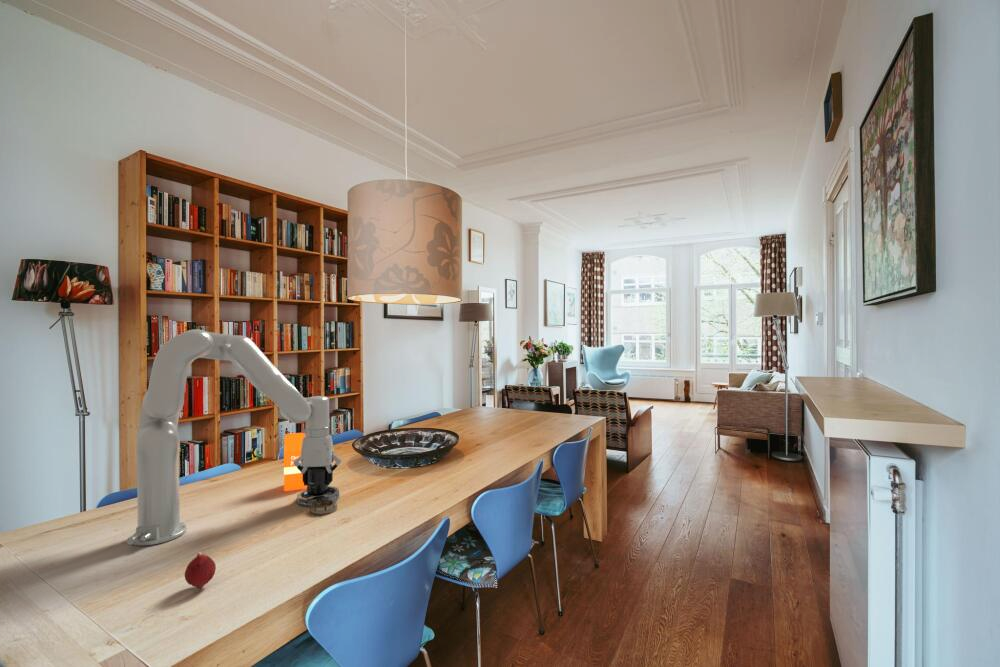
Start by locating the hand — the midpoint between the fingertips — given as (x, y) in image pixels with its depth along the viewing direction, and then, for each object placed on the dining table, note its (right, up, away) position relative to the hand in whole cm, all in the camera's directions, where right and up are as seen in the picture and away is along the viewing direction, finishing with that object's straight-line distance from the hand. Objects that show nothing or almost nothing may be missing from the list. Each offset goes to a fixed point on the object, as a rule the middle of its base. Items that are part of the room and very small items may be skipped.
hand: (317, 483), depth 155 cm
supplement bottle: (0, -3, 0) cm, 3 cm away
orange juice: (-13, -6, +13) cm, 19 cm away
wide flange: (0, -5, 0) cm, 5 cm away
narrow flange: (+6, -5, -9) cm, 12 cm away
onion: (-5, -6, -53) cm, 54 cm away
